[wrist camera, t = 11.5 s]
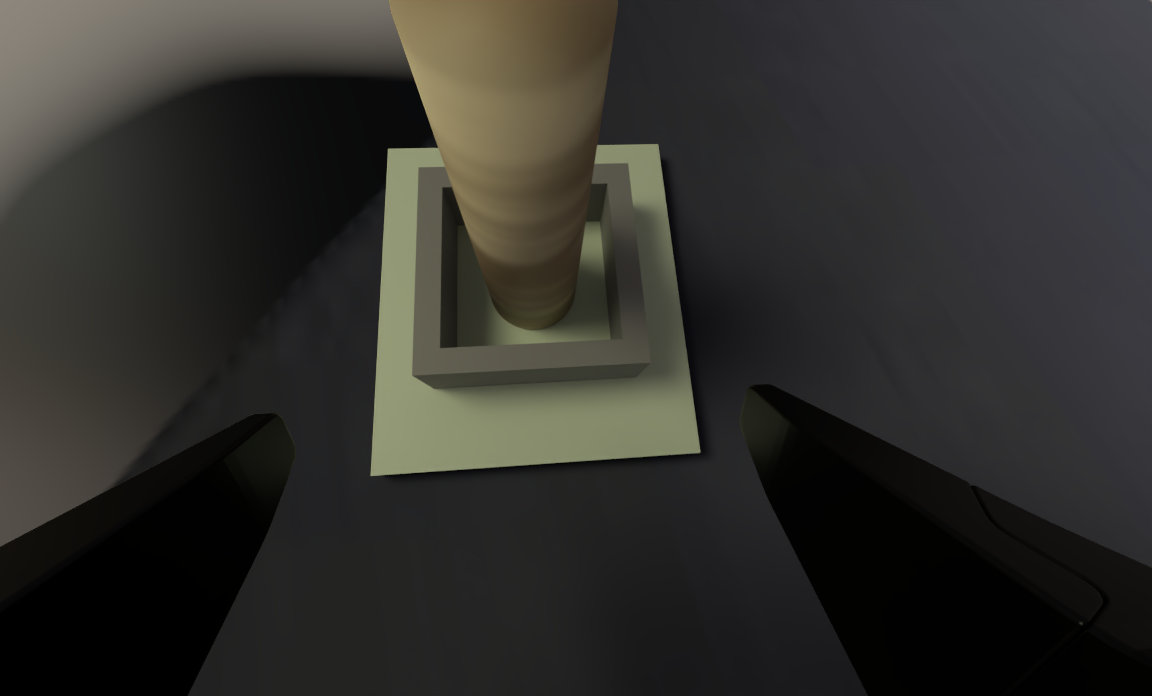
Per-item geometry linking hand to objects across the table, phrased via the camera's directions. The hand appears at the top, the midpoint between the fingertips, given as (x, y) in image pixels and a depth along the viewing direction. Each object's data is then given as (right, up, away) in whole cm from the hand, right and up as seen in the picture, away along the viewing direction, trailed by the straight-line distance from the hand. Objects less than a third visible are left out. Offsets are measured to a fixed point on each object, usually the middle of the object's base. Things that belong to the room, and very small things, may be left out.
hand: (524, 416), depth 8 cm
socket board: (-1, +4, +13) cm, 13 cm away
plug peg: (-1, +4, +12) cm, 12 cm away
